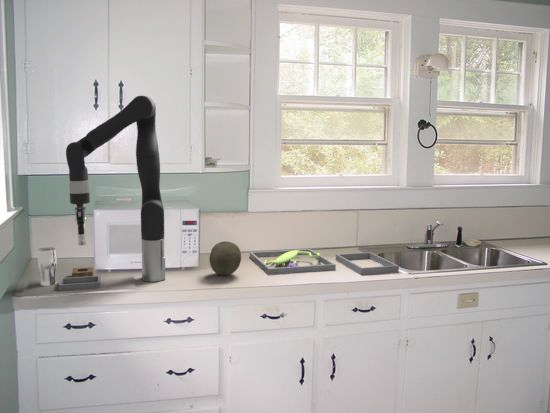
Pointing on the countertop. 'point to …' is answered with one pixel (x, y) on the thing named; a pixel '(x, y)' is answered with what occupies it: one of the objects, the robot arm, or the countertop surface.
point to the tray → (80, 285)
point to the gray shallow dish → (386, 268)
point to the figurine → (289, 258)
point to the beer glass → (47, 265)
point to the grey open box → (327, 266)
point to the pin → (82, 237)
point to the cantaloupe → (225, 258)
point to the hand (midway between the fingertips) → (81, 233)
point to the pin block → (82, 272)
